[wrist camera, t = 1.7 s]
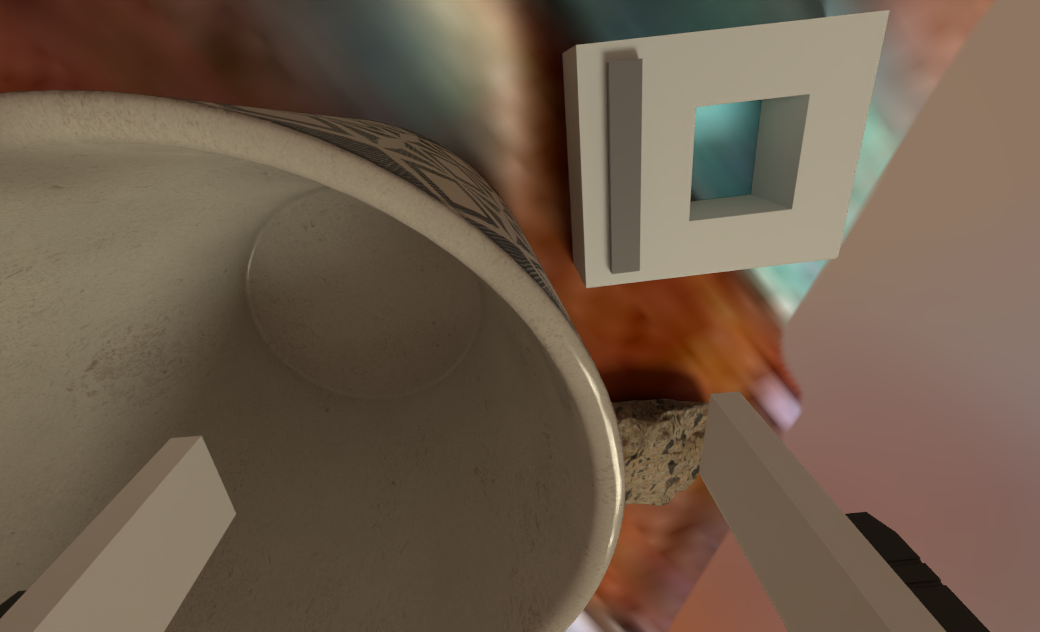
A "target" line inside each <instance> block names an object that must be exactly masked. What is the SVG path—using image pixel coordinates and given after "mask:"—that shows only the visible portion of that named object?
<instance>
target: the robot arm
mask: <svg viewBox="0 0 1040 632" xmlns="http://www.w3.org/2000/svg"><path fill="white" fill-rule="evenodd" d="M699 475H700V476H701V478H702V480H703V482H704V483H705V485H706V487H707V489H708V490H709V492H710V494H711V496H712V498H713V499H714V501H715V503H716V505H717V506H718V508H719V510H720V512H721V513H722V515H723V517H724V519H725V521H726V522H727V524H728V526H729V528H730V529H731V531H732V533H733V535H734V536H735V538H736V540H737V542H738V544H739V545H740V547H741V549H742V551H743V552H744V554H745V556H746V558H747V559H748V561H749V563H750V565H751V566H752V568H753V570H754V572H755V574H756V575H757V577H758V579H759V580H760V583H761V584H762V586H763V588H764V590H765V591H766V593H767V595H768V597H769V598H770V600H771V602H772V604H773V605H774V607H775V609H776V610H777V613H778V614H779V616H780V618H781V620H782V621H783V623H784V625H785V627H786V629H787V630H788V632H990V631H989V630H988V629H987V628H986V627H985V626H984V625H983V624H982V623H981V622H980V621H979V620H978V619H977V617H976V616H975V615H974V614H973V613H972V612H971V611H970V610H969V609H968V608H967V607H966V606H965V605H964V604H963V603H962V602H961V601H960V600H959V599H958V597H956V595H955V594H954V593H953V592H952V591H951V590H950V589H949V588H948V587H947V586H946V585H943V584H942V583H941V580H940V579H939V577H938V576H937V575H936V574H935V573H934V572H933V571H932V570H931V569H930V568H929V567H928V566H927V565H926V564H925V563H922V562H921V560H920V557H919V556H918V555H917V554H916V553H915V552H914V551H913V550H912V549H911V548H910V547H909V546H908V545H907V543H906V542H905V541H904V540H903V539H902V538H901V537H900V536H899V535H898V534H897V533H896V532H895V531H893V530H892V529H890V528H889V527H887V526H886V525H884V524H883V523H882V522H880V521H878V520H877V519H876V518H874V517H873V516H871V515H870V514H868V513H867V512H861V513H850V514H844V513H843V511H842V510H841V509H840V508H839V507H838V506H837V504H836V503H835V502H834V501H833V500H832V499H831V497H830V496H829V495H828V494H827V493H826V492H825V491H824V490H823V488H822V487H821V486H820V485H819V484H818V482H817V481H816V480H815V479H814V478H813V477H812V475H811V474H810V473H809V472H808V471H807V470H806V468H805V467H804V466H803V465H802V464H801V463H800V462H799V460H798V459H797V458H796V457H795V456H794V455H793V453H792V452H791V451H790V450H789V449H788V448H787V446H786V445H785V444H784V443H783V442H782V441H781V439H780V438H779V437H778V436H777V435H776V434H775V433H774V431H773V430H772V429H771V428H770V427H769V426H768V424H767V423H766V422H765V421H764V420H763V419H762V417H761V416H760V415H759V414H758V413H757V412H756V411H755V409H754V408H753V407H752V406H751V405H750V404H749V402H748V401H747V400H746V399H745V398H744V397H743V395H742V394H741V393H740V392H729V393H717V394H711V395H710V402H709V409H708V415H707V422H706V429H705V435H704V442H703V449H702V455H701V462H700V469H699ZM235 515H236V512H235V510H234V508H233V505H232V503H231V501H230V499H229V496H228V494H227V492H226V490H225V487H224V485H223V483H222V480H221V478H220V476H219V474H218V471H217V469H216V467H215V465H214V462H213V460H212V458H211V456H210V453H209V451H208V449H207V447H206V444H205V442H204V440H203V438H202V436H191V437H179V438H170V439H169V441H168V442H167V443H166V444H165V445H164V446H163V447H162V448H161V449H160V450H159V451H158V452H157V453H156V454H155V455H154V456H153V457H152V459H151V460H150V461H149V462H148V463H147V464H146V465H145V466H144V467H143V468H142V469H141V470H140V471H139V472H138V473H137V474H136V476H135V477H134V478H133V479H132V480H131V481H130V482H129V483H128V484H127V485H126V486H125V487H124V488H123V489H122V490H121V491H120V492H119V494H118V495H117V496H116V497H115V498H114V499H113V500H112V501H111V502H110V503H109V504H108V505H107V506H106V507H105V508H104V509H103V510H102V512H101V513H100V514H99V515H98V516H97V517H96V518H95V519H94V520H93V521H92V522H91V523H90V524H89V525H88V526H87V527H86V529H85V530H84V531H83V532H82V533H81V534H80V535H79V536H78V537H77V538H76V539H75V540H74V541H73V542H72V543H71V544H70V545H69V547H68V548H67V549H66V550H65V551H64V552H63V553H62V554H61V555H60V556H59V557H58V558H57V559H56V560H55V561H54V562H53V563H52V565H51V566H50V567H49V568H48V569H47V570H46V571H45V572H44V573H43V574H42V575H41V576H40V577H39V578H38V579H37V580H36V581H35V583H34V584H33V585H32V586H31V587H30V588H29V589H28V590H24V591H18V592H16V593H15V594H14V595H12V596H11V597H10V598H8V599H7V600H6V601H4V602H3V603H2V604H0V632H164V631H165V629H166V628H167V626H168V624H169V623H170V621H171V620H172V618H173V616H174V615H175V613H176V611H177V610H178V608H179V607H180V605H181V603H182V602H183V600H184V598H185V597H186V595H187V593H188V592H189V590H190V589H191V587H192V585H193V584H194V582H195V580H196V579H197V577H198V575H199V574H200V572H201V571H202V569H203V567H204V566H205V564H206V562H207V561H208V559H209V557H210V556H211V554H212V553H213V551H214V549H215V548H216V546H217V544H218V543H219V541H220V539H221V538H222V536H223V535H224V533H225V531H226V530H227V528H228V526H229V525H230V523H231V522H232V520H233V518H234V517H235Z"/></svg>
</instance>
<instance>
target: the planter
mask: <svg viewBox="0 0 1040 632" xmlns="http://www.w3.org/2000/svg"><path fill="white" fill-rule="evenodd" d="M191 436H202V438H203V440H204V442H205V444H206V447H207V449H208V451H209V453H210V456H211V458H212V460H213V462H214V465H215V467H216V469H217V471H218V474H219V476H220V478H221V480H222V483H223V485H224V487H225V490H226V492H227V494H228V496H229V499H230V501H231V503H232V505H233V508H234V510H235V512H236V515H235V517H234V518H233V520H232V522H231V523H230V525H229V526H228V528H227V530H226V531H225V533H224V535H223V536H222V538H221V539H220V541H219V543H218V544H217V546H216V548H215V549H214V551H213V553H212V554H211V556H210V557H209V559H208V561H207V562H206V564H205V566H204V567H203V569H202V571H201V572H200V574H199V575H198V577H197V579H196V580H195V582H194V584H193V585H192V587H191V589H190V590H189V592H188V593H187V595H186V597H185V598H184V600H183V602H182V603H181V605H180V607H179V608H178V610H177V611H176V613H175V615H174V616H173V618H172V620H171V621H170V623H169V624H168V626H167V628H166V629H165V631H164V632H565V631H566V630H567V628H568V627H569V626H570V625H571V624H572V623H573V622H574V621H575V619H576V618H577V617H578V616H579V614H580V613H581V612H582V610H583V609H584V608H585V607H586V605H587V604H588V602H589V601H590V599H591V597H592V596H593V594H594V593H595V591H596V590H597V588H598V586H599V584H600V582H601V580H602V578H603V576H604V574H605V573H606V571H607V568H608V566H609V563H610V561H611V558H612V556H613V553H614V551H615V548H616V544H617V541H618V537H619V534H620V530H621V525H622V519H623V514H624V506H625V493H626V474H625V460H624V452H623V445H622V439H621V435H620V431H619V426H618V422H617V418H616V415H615V412H614V409H613V406H612V403H611V400H610V397H609V395H608V392H607V389H606V387H605V385H604V383H603V381H602V378H601V376H600V374H599V372H598V370H597V368H596V366H595V363H594V362H593V360H592V358H591V356H590V354H589V352H588V351H587V349H586V347H585V345H584V343H583V341H582V340H581V338H580V336H579V334H578V332H577V331H576V329H575V327H574V325H573V323H572V321H571V320H570V318H569V316H568V314H567V312H566V310H565V309H564V307H563V305H562V303H561V301H560V299H559V298H558V296H557V294H556V292H555V290H554V288H553V287H552V285H551V283H550V281H549V279H548V277H547V276H546V274H545V272H544V270H543V268H542V266H541V265H540V263H539V261H538V259H537V257H536V255H535V254H534V252H533V250H532V248H531V246H530V244H529V243H528V241H527V239H526V237H525V235H524V233H523V232H522V230H521V228H520V226H519V224H518V223H517V221H516V219H515V217H514V216H513V214H512V212H511V211H510V209H509V208H508V206H507V205H506V203H505V202H504V200H503V199H502V198H501V197H500V195H499V194H498V193H497V192H496V190H495V189H494V188H493V187H492V186H491V185H490V184H489V183H488V182H487V180H486V179H485V178H484V177H483V176H482V175H480V174H479V173H478V172H477V171H476V170H475V169H474V168H473V167H472V166H470V165H469V164H468V163H466V162H465V161H464V160H463V159H461V158H460V157H459V156H457V155H455V154H454V153H452V152H451V151H449V150H448V149H446V148H445V147H443V146H441V145H439V144H437V143H436V142H434V141H432V140H430V139H428V138H425V137H423V136H421V135H419V134H416V133H414V132H411V131H408V130H406V129H403V128H400V127H396V126H392V125H389V124H385V123H380V122H375V121H370V120H361V119H353V118H344V117H335V116H326V115H317V114H308V113H300V112H291V111H282V110H273V109H264V108H255V107H246V106H237V105H229V104H220V103H211V102H202V101H193V100H184V99H175V98H166V97H158V96H149V95H140V94H131V93H122V92H109V91H83V90H45V91H23V92H7V93H0V604H2V603H3V602H4V601H6V600H7V599H8V598H10V597H11V596H12V595H14V594H15V593H16V592H18V591H24V590H28V589H29V588H30V587H31V586H32V585H33V584H34V583H35V581H36V580H37V579H38V578H39V577H40V576H41V575H42V574H43V573H44V572H45V571H46V570H47V569H48V568H49V567H50V566H51V565H52V563H53V562H54V561H55V560H56V559H57V558H58V557H59V556H60V555H61V554H62V553H63V552H64V551H65V550H66V549H67V548H68V547H69V545H70V544H71V543H72V542H73V541H74V540H75V539H76V538H77V537H78V536H79V535H80V534H81V533H82V532H83V531H84V530H85V529H86V527H87V526H88V525H89V524H90V523H91V522H92V521H93V520H94V519H95V518H96V517H97V516H98V515H99V514H100V513H101V512H102V510H103V509H104V508H105V507H106V506H107V505H108V504H109V503H110V502H111V501H112V500H113V499H114V498H115V497H116V496H117V495H118V494H119V492H120V491H121V490H122V489H123V488H124V487H125V486H126V485H127V484H128V483H129V482H130V481H131V480H132V479H133V478H134V477H135V476H136V474H137V473H138V472H139V471H140V470H141V469H142V468H143V467H144V466H145V465H146V464H147V463H148V462H149V461H150V460H151V459H152V457H153V456H154V455H155V454H156V453H157V452H158V451H159V450H160V449H161V448H162V447H163V446H164V445H165V444H166V443H167V442H168V441H169V439H170V438H179V437H191Z"/></svg>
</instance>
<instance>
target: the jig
mask: <svg viewBox="0 0 1040 632" xmlns="http://www.w3.org/2000/svg"><path fill="white" fill-rule="evenodd" d="M889 11H890V10H887V11H878V12H869V13H860V14H851V15H842V16H833V17H824V18H815V19H806V20H797V21H788V22H779V23H770V24H761V25H752V26H743V27H734V28H725V29H716V30H707V31H698V32H689V33H680V34H671V35H662V36H652V37H643V38H634V39H625V40H616V41H607V42H598V43H589V44H580V45H575V46H574V47H572V48H570V49H569V50H567V51H565V52H564V53H562V60H563V79H564V97H565V116H566V135H567V154H568V172H569V191H570V210H571V228H572V247H573V264H574V266H575V268H576V270H577V271H578V273H579V275H580V277H581V279H582V281H583V283H584V285H585V287H586V288H590V287H599V286H607V285H616V284H624V283H632V282H641V281H649V280H657V279H666V278H674V277H683V276H691V275H699V274H708V273H716V272H724V271H733V270H741V269H750V268H758V267H766V266H775V265H783V264H791V263H800V262H808V261H817V260H825V259H833V258H838V254H839V250H840V245H841V240H842V235H843V231H844V226H845V221H846V216H847V211H848V207H849V202H850V197H851V192H852V188H853V183H854V178H855V173H856V168H857V164H858V159H859V154H860V149H861V145H862V140H863V135H864V130H865V125H866V121H867V116H868V111H869V106H870V101H871V97H872V92H873V87H874V82H875V78H876V73H877V68H878V63H879V58H880V54H881V49H882V44H883V39H884V35H885V30H886V25H887V20H888V15H889ZM753 100H762V103H761V112H760V120H759V129H758V138H757V146H756V155H755V164H754V172H753V181H752V189H751V194H750V195H742V196H733V197H725V198H716V199H708V200H699V201H690V199H691V182H692V165H693V149H694V132H695V115H696V107H700V106H709V105H718V104H726V103H735V102H744V101H753Z"/></svg>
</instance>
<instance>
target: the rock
mask: <svg viewBox="0 0 1040 632" xmlns="http://www.w3.org/2000/svg"><path fill="white" fill-rule="evenodd" d="M611 403H612V406H613V409H614V412H615V415H616V418H617V422H618V426H619V431H620V435H621V439H622V445H623V452H624V460H625V474H626V493H625V504H631V503H633V504H652V505H657V506H661V505H664V504H667V503H669V502H670V500H671V498H673V497H674V496H675V494H676V493H677V492H678V491H684V490H686V489H687V487H688V486H689V485H691V484H692V483H693V482H694V481H695V479H696V476H697V474H698V473H699V469H700V462H701V455H702V449H703V442H704V435H705V429H706V422H707V415H708V409H709V404H708V403H705V402H691V401H678V400H673V399H668V398H667V399H652V400H632V401H623V402H611Z"/></svg>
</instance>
